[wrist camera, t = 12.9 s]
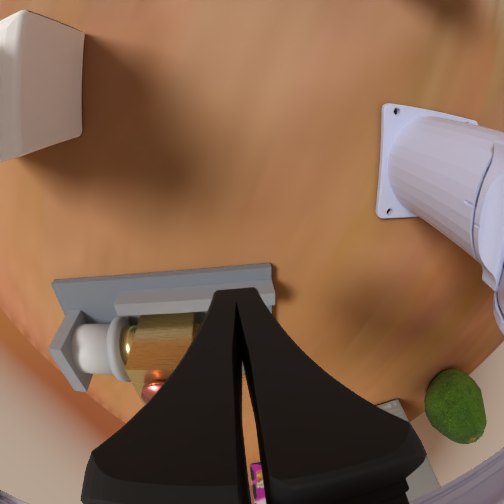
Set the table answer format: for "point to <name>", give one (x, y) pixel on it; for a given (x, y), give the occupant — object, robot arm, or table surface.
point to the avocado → (456, 406)
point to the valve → (156, 349)
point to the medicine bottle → (38, 83)
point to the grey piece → (135, 311)
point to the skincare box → (424, 475)
